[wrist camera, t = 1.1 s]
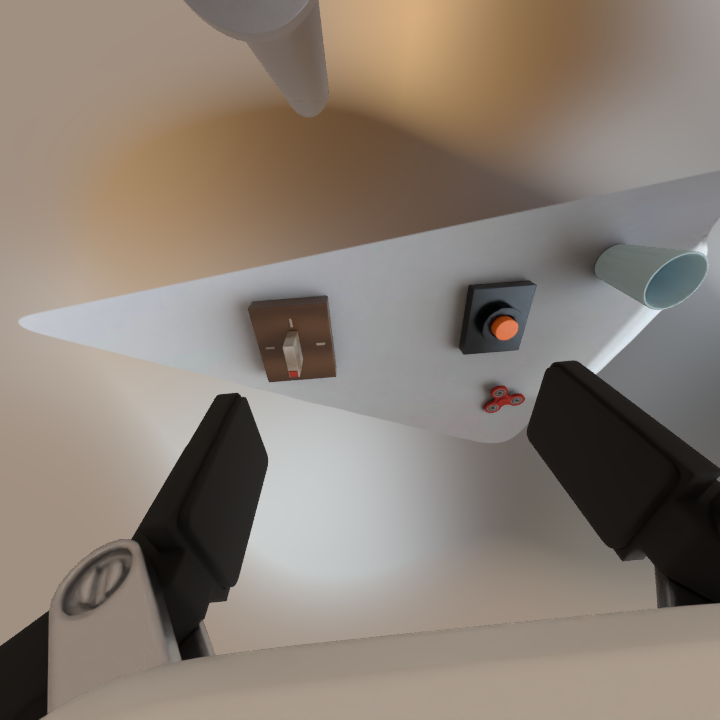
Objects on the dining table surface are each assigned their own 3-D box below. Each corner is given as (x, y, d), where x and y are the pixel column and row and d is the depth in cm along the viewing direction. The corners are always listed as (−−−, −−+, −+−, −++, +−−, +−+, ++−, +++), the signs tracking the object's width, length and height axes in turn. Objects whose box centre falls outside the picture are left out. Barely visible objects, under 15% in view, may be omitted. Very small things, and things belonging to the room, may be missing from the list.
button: (493, 316, 46) (498, 321, 45) (515, 314, 46) (520, 319, 45) (488, 336, 48) (493, 341, 47) (510, 334, 48) (515, 339, 47)
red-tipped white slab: (287, 331, 46) (282, 347, 42) (297, 330, 46) (293, 347, 42) (293, 360, 49) (289, 378, 45) (303, 359, 49) (299, 377, 45)
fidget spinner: (500, 387, 56) (498, 382, 57) (473, 407, 60) (472, 402, 61) (529, 400, 59) (526, 395, 60) (501, 419, 63) (499, 414, 64)
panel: (252, 301, 46) (247, 309, 43) (327, 295, 46) (326, 303, 44) (272, 372, 54) (268, 383, 51) (336, 367, 54) (336, 377, 51)
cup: (649, 246, 45) (723, 263, 36) (611, 291, 49) (670, 316, 40) (613, 229, 44) (681, 243, 35) (577, 277, 47) (631, 300, 39)
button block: (468, 285, 47) (478, 293, 43) (529, 280, 47) (543, 288, 44) (459, 348, 53) (467, 360, 50) (512, 344, 54) (523, 355, 50)
